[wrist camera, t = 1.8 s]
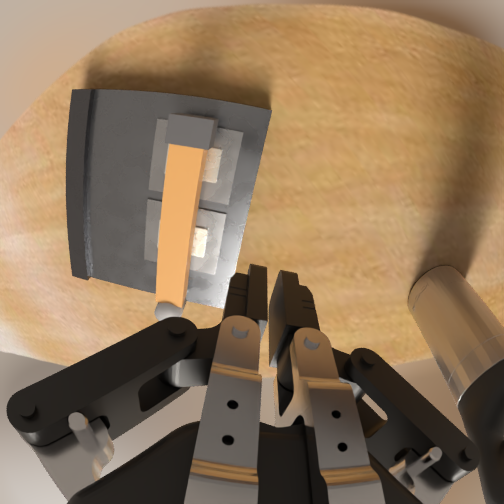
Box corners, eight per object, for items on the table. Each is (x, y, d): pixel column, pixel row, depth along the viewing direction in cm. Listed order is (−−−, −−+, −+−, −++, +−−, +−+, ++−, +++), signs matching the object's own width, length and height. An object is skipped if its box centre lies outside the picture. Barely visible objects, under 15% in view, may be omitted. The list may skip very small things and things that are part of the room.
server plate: (271, 110, 26) (272, 110, 23) (228, 295, 37) (225, 315, 33) (89, 89, 25) (70, 89, 22) (84, 261, 35) (70, 277, 32)
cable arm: (219, 118, 23) (213, 120, 21) (188, 310, 33) (183, 328, 30) (178, 112, 23) (168, 113, 20) (158, 303, 33) (150, 320, 30)
